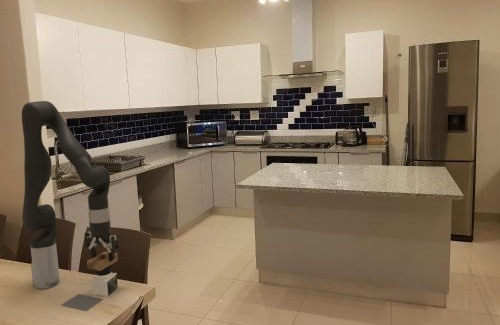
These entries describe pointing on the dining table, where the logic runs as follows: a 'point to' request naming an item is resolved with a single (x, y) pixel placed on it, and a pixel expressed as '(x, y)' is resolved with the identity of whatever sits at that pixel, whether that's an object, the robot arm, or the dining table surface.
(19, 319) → the dining table surface
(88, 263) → the lid
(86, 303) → the mat
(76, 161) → the robot arm
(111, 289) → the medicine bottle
